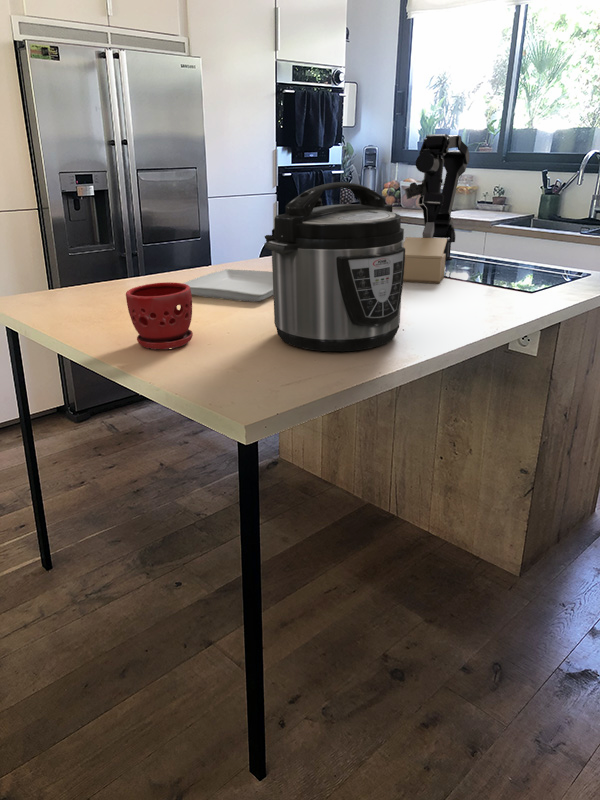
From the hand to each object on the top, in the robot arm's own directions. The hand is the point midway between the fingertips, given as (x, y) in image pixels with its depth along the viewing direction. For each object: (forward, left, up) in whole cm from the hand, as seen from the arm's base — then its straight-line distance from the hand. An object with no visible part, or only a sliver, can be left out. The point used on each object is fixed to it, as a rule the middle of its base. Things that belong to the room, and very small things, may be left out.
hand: (427, 226), depth 208 cm
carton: (+13, +17, -13) cm, 25 cm away
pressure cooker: (+65, +59, -13) cm, 89 cm away
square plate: (+67, +5, -14) cm, 68 cm away
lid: (+11, +14, -3) cm, 18 cm away
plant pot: (+100, +46, -13) cm, 111 cm away
